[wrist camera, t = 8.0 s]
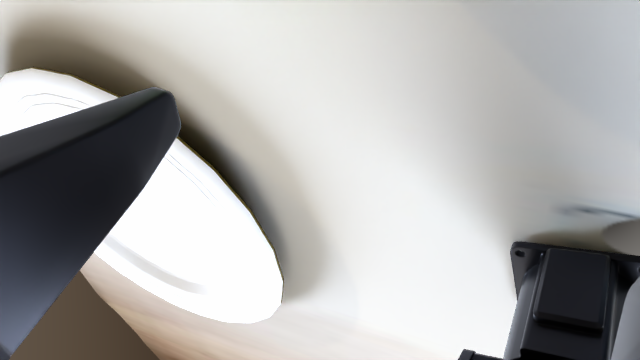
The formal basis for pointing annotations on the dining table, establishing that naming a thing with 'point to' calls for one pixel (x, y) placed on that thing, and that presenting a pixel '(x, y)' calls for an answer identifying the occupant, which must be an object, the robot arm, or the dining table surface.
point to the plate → (167, 215)
